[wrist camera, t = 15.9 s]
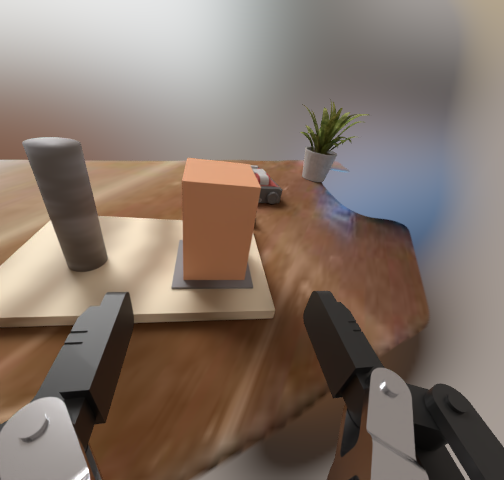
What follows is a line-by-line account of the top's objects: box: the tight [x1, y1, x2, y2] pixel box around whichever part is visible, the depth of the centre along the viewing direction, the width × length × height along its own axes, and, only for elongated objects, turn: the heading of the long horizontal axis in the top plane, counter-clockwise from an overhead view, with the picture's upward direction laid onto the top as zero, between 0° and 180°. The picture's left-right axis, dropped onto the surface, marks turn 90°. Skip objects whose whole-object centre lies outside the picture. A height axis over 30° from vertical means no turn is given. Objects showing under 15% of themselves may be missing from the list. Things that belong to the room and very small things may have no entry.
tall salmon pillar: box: [182, 158, 261, 280], centre depth 21 cm, size 5×5×9 cm
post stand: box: [0, 137, 275, 327], centre depth 20 cm, size 22×14×11 cm, turn 99°
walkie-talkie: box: [250, 165, 282, 221], centre depth 40 cm, size 9×4×20 cm
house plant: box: [301, 102, 367, 182], centre depth 50 cm, size 14×14×16 cm
